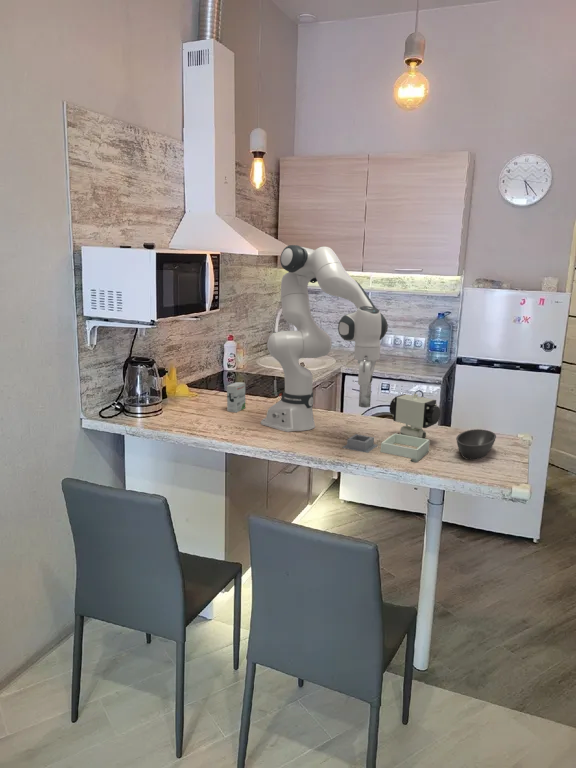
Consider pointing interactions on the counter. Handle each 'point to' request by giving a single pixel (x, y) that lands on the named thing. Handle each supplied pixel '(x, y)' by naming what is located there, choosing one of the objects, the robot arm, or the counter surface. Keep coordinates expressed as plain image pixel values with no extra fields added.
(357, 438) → the socket block
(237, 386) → the ink box
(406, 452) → the bin
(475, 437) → the bowl
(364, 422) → the counter surface
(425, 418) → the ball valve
